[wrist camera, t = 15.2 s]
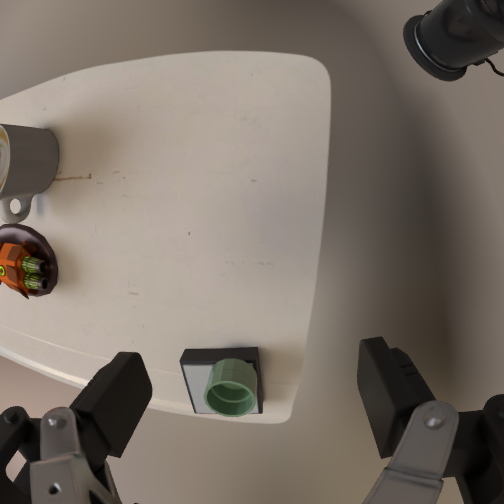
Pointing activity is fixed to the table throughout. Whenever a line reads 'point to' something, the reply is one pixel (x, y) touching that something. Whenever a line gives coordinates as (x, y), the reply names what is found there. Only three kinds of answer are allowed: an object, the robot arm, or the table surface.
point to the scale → (199, 368)
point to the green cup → (231, 388)
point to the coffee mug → (25, 167)
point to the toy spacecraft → (26, 261)
